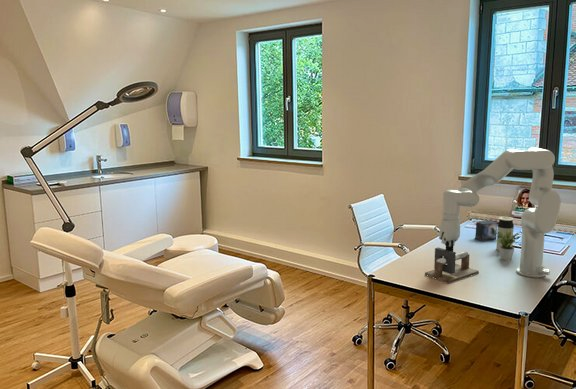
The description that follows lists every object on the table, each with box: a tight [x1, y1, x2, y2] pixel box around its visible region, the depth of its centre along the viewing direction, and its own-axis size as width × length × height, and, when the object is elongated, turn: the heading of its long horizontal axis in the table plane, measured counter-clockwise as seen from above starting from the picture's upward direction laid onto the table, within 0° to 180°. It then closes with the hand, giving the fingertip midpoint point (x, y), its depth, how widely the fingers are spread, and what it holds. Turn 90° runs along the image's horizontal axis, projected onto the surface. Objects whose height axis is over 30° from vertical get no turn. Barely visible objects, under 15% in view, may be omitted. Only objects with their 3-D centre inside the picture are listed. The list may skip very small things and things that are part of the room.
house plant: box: [495, 229, 522, 261], centre depth 252 cm, size 14×14×16 cm
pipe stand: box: [424, 250, 480, 284], centre depth 234 cm, size 14×22×10 cm, turn 124°
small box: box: [474, 219, 498, 242], centre depth 291 cm, size 11×6×10 cm, turn 105°
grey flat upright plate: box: [433, 247, 457, 274], centre depth 230 cm, size 10×2×10 cm, turn 34°
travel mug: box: [496, 216, 515, 252], centre depth 268 cm, size 8×8×18 cm
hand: (449, 253), depth 232 cm, fingers closed
